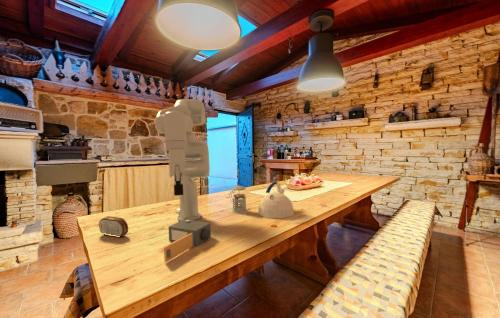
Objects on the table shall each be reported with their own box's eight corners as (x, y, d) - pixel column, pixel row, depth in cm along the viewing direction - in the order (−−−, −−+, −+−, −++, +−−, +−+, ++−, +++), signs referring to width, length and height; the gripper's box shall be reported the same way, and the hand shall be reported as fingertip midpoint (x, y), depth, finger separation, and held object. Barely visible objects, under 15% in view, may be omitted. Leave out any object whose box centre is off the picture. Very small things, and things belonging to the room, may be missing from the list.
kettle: (299, 210, 124) (298, 180, 123) (285, 221, 106) (284, 185, 105) (268, 206, 134) (267, 178, 134) (251, 215, 117) (250, 183, 116)
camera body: (168, 241, 86) (167, 225, 86) (185, 232, 95) (184, 217, 95) (198, 247, 80) (197, 230, 80) (213, 237, 89) (212, 221, 89)
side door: (167, 262, 69) (166, 247, 69) (164, 261, 70) (163, 246, 69) (194, 246, 80) (194, 233, 80) (192, 245, 81) (191, 232, 81)
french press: (241, 214, 119) (240, 170, 117) (225, 212, 125) (224, 170, 124) (251, 210, 127) (249, 168, 126) (235, 207, 133) (234, 168, 132)
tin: (129, 236, 93) (128, 217, 93) (123, 239, 90) (121, 220, 90) (104, 233, 98) (103, 215, 97) (98, 235, 95) (96, 217, 95)
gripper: (166, 146, 84) (168, 191, 85) (164, 146, 70) (167, 200, 71) (186, 145, 86) (188, 190, 87) (187, 145, 72) (190, 198, 73)
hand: (178, 194), depth 79 cm, fingers closed
